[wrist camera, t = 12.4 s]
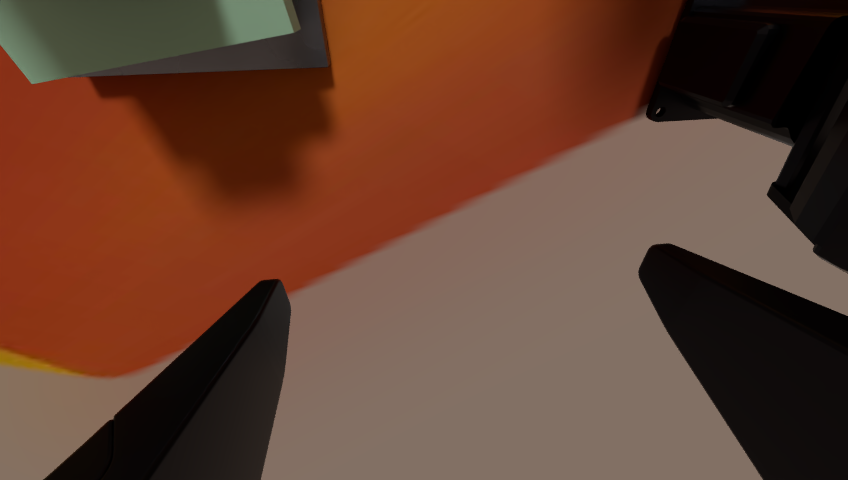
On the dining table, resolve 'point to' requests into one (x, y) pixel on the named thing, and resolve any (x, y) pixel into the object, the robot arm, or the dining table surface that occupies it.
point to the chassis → (249, 51)
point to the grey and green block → (129, 31)
